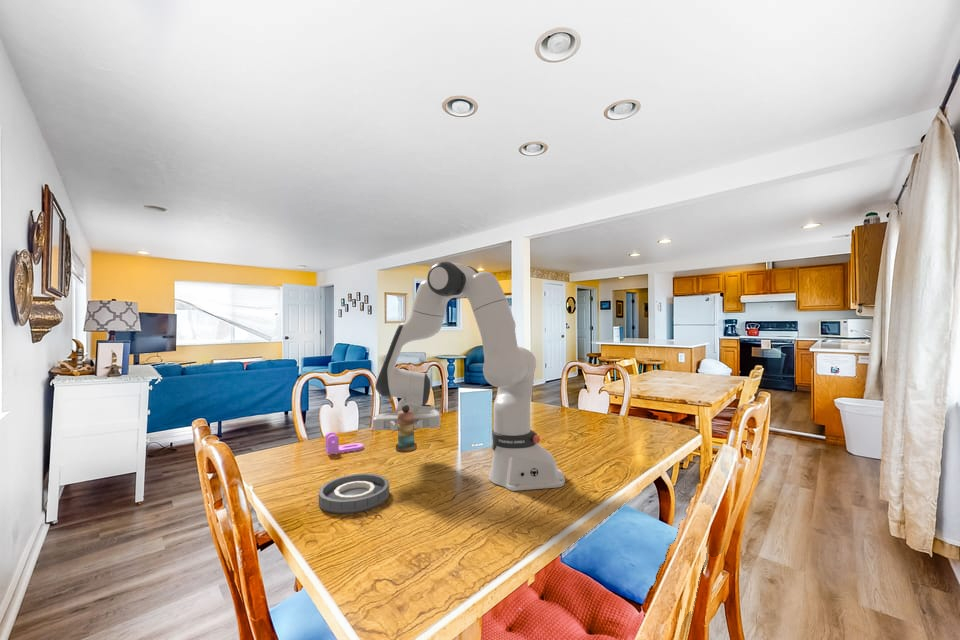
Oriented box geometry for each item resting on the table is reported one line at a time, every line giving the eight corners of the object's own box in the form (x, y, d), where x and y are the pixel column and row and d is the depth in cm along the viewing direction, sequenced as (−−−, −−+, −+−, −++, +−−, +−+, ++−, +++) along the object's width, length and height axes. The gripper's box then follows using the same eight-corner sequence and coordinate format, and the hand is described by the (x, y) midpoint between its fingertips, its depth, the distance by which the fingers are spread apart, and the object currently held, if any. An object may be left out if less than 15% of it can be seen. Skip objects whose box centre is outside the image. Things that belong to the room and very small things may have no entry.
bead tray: (396, 484, 115) (396, 473, 115) (377, 514, 97) (377, 502, 97) (335, 483, 116) (335, 473, 116) (305, 513, 98) (305, 501, 98)
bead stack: (418, 445, 118) (418, 402, 118) (414, 452, 112) (413, 407, 112) (398, 445, 118) (398, 402, 118) (393, 452, 112) (392, 407, 112)
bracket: (327, 456, 140) (327, 436, 140) (325, 451, 145) (325, 432, 145) (364, 450, 146) (364, 431, 146) (361, 445, 151) (361, 427, 151)
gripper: (374, 407, 126) (368, 418, 113) (439, 405, 129) (440, 414, 115) (375, 427, 126) (369, 440, 113) (439, 424, 129) (441, 436, 115)
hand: (405, 427), depth 114 cm, fingers closed on bead stack, 5 cm apart
